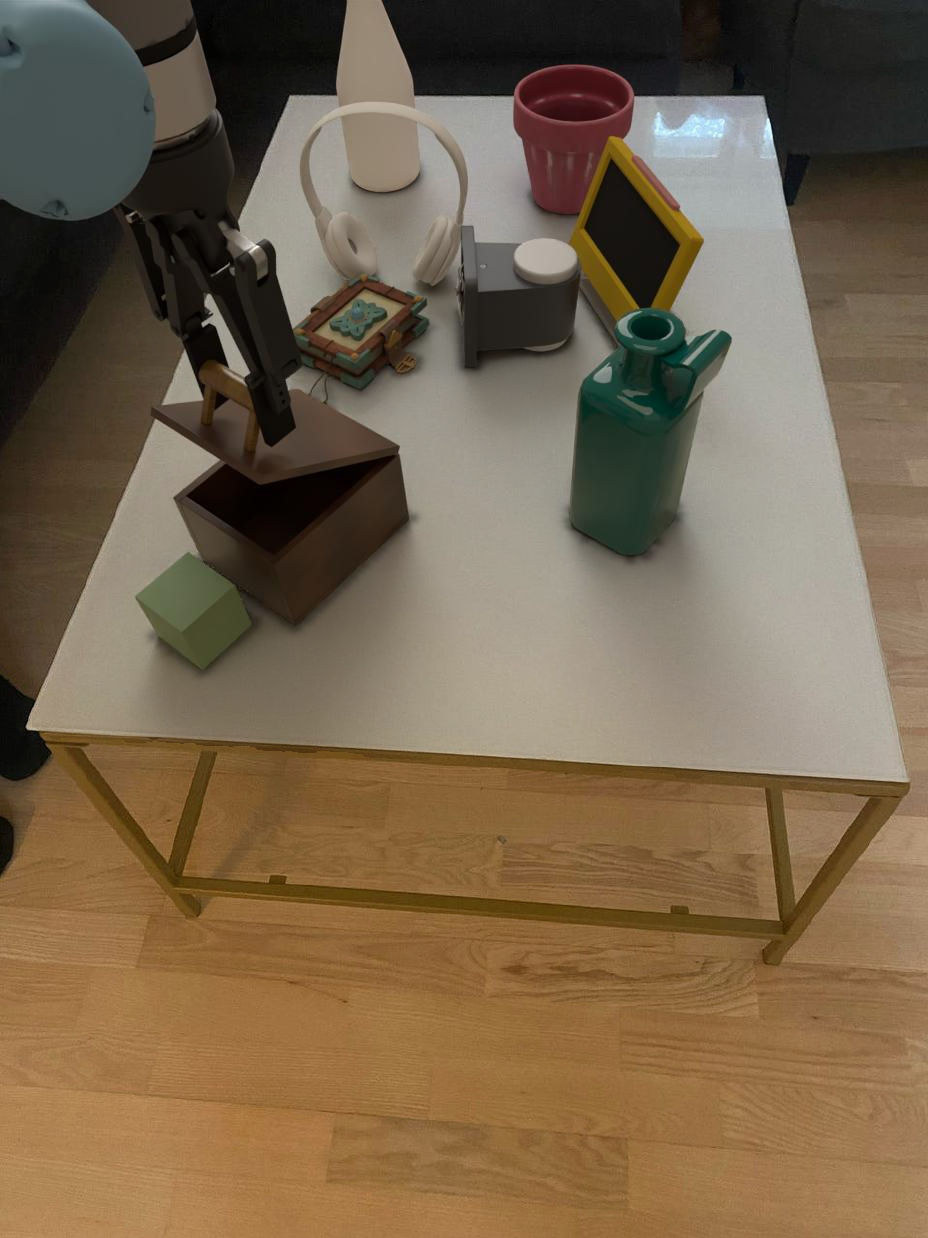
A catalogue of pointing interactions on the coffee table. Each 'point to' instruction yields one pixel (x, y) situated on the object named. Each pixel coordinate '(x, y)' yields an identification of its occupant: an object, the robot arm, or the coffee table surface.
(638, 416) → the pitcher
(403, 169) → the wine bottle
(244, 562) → the bin
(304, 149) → the headphones
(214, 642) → the block
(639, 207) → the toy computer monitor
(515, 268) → the light fixture
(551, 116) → the flower pot
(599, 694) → the coffee table surface
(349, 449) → the bin lid
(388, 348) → the decorative book
